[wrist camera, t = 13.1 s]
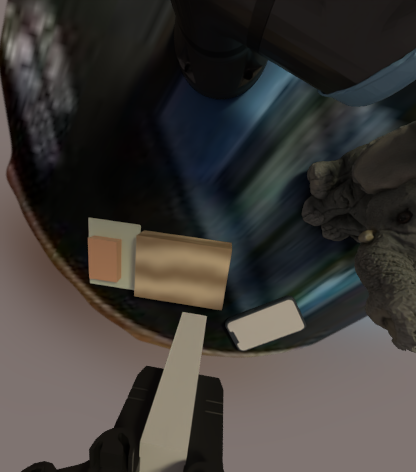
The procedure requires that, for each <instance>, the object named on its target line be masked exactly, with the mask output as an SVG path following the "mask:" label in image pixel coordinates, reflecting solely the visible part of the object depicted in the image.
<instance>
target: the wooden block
mask: <svg viewBox="0 0 416 472" xmlns="http://www.w3.org/2000/svg"><path fill="white" fill-rule="evenodd" d="M231 252H232V243H228V242H221V241H214V240H207V239H201V238H194V237H187V236H180V235H173V234H167V233H160V232H153V231H146V230H144V231H143V232H141V233H139V234H138V235H136V261H135V289H134V296H136V297H142V298H148V299H155V300H161V301H167V302H173V303H179V304H185V305H191V306H198V307H204V308H210V309H216V310H222V306H223V300H224V294H225V288H226V282H227V276H228V270H229V264H230V258H231Z"/></svg>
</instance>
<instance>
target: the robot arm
mask: <svg viewBox="0 0 416 472" xmlns="http://www.w3.org/2000/svg"><path fill="white" fill-rule="evenodd" d="M171 3H172V6H173V9H174V12H175V15H176V17H175V27H174V47H175V53H176V57H177V60H178V63H179V66H180V68H181V71H182V73H183V75H184V77H185V78H186V80H187V81H188V83H189V84H190V85H191V86H192V87H193V88H194V89H195V90H196V91H198V92H199V93H201V94H202V95H204V96H206V97H209V98H213V99H229V98H233V97H236V96H238V95H240V94H242V93H244V92H245V91H247V90H248V89H249V88H250V87H251V86H252V85H253V84H254V83H255V82H256V81H257V80H258V78H259V77H260V75H261V74H262V72H263V70H264V68H265V66H266V64H267V61H268V60H269V61H271V62H273V63H274V64H276V65H278V66H279V67H281V68H283V69H284V70H286V71H288V72H290V73H291V74H293V75H295V76H296V77H298V78H300V79H301V80H303V81H305V82H306V83H308V84H310V85H311V86H313V87H315V88H317V89H318V92H319V93H320V94H321V95H323V96H327V97H332V98H334V99H336V100H338V101H340V102H342V103H343V104H345V105H348V106H358V107H360V106H367V105H370V104H373V103H376V102H378V101H381V100H383V99H385V98H387V97H389V96H391V95H392V94H394V93H396V92H397V91H399V90H401V89H402V88H404V87H405V86H407V85H408V84H410V83H411V82H413V81H414V80H416V0H171ZM206 318H207V316H203V315H197V314H191V313H185V312H183V313H182V316H181V319H180V322H179V325H178V328H177V331H176V334H175V337H174V340H173V343H172V346H171V349H170V352H169V356H168V359H167V362H166V365H165V368H164V369H162V368H156V367H151V366H146V367H145V368H144V369H143V370H142V371H141V372H140V373H139V374H138V376H137V377H136V380H135V382H134V384H133V386H132V389H131V391H130V393H129V395H128V398H127V400H126V402H125V404H124V406H123V408H122V410H121V413H120V415H119V417H118V419H117V421H116V424H115V426H114V428H112V429H110V430H107V431H105V432H104V433H102V434H101V435H100V436H99V437H98V438H97V439H96V440H95V441H94V443H93V444H92V446H91V447H90V449H89V457H90V460H88V461H87V462H85V463H82V464H79V465H75V466H71V467H66V468H62V469H58V470H57V469H56V468H55V467H54V465H53V464H52V463H49V462H45V461H43V462H39V463H34V464H33V465H31V466H29V467H27V468H26V469H24V470H22V471H21V472H224V470H223V462H222V456H223V453H222V452H223V388H222V385H221V382H220V380H219V378H215V377H209V376H204V375H199V368H200V361H201V354H202V346H203V339H204V332H205V325H206Z"/></svg>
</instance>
